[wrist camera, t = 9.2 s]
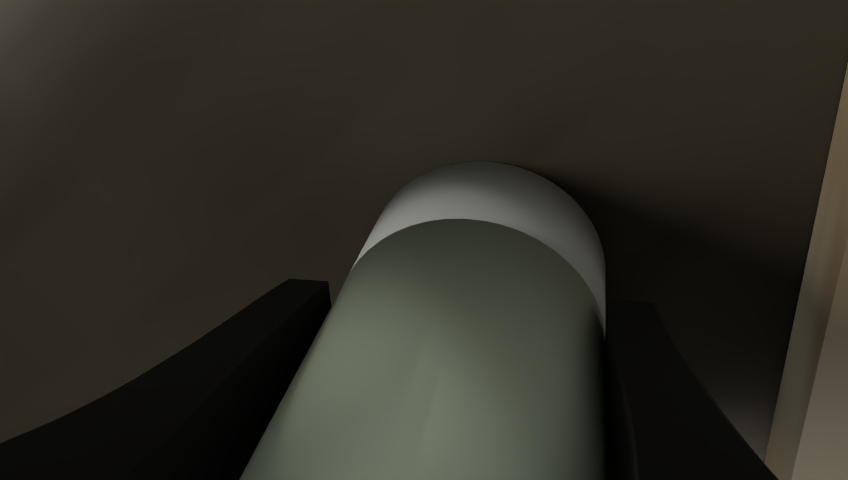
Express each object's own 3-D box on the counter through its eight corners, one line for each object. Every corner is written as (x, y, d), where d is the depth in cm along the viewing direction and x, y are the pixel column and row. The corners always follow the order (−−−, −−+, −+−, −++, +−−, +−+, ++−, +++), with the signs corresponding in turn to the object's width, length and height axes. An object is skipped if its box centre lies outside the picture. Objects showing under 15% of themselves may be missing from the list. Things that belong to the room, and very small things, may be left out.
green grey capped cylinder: (598, 374, 14) (593, 799, 8) (378, 355, 15) (227, 731, 9) (613, 165, 12) (621, 518, 6) (361, 156, 13) (154, 465, 7)
